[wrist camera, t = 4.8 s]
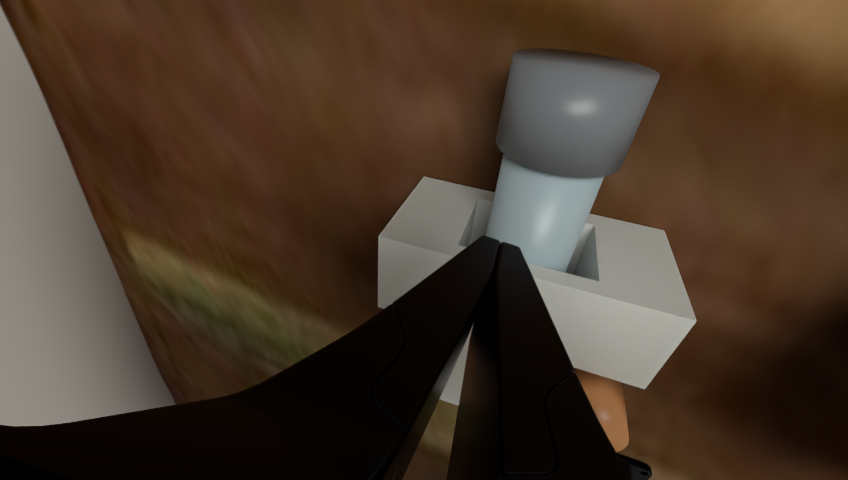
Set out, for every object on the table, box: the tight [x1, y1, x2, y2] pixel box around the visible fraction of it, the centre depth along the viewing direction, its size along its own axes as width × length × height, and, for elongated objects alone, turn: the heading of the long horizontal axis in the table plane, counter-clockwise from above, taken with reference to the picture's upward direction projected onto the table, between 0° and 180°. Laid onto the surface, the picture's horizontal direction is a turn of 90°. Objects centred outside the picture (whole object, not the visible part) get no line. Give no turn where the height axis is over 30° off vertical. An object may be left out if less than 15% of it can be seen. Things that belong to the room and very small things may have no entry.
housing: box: [378, 177, 697, 406], centre depth 20 cm, size 10×12×6 cm
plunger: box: [573, 368, 629, 452], centre depth 17 cm, size 3×3×2 cm
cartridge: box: [486, 49, 660, 273], centre depth 17 cm, size 16×5×5 cm, turn 175°
